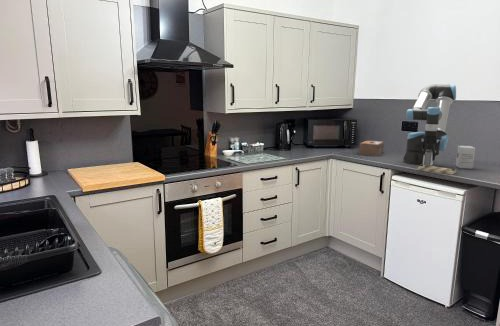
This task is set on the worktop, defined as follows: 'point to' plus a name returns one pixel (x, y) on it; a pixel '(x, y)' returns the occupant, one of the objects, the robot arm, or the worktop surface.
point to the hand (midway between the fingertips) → (427, 164)
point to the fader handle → (428, 158)
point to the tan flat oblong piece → (437, 169)
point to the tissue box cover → (371, 148)
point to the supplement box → (465, 157)
